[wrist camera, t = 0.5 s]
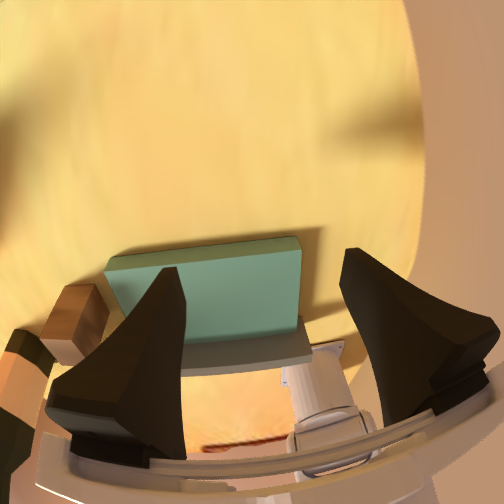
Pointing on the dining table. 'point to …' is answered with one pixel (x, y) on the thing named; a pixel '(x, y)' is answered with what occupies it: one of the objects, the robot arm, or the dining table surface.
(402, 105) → the dining table surface
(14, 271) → the dining table surface
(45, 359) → the wine bottle
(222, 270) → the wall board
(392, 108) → the dining table surface
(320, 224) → the dining table surface
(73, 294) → the walnut block
